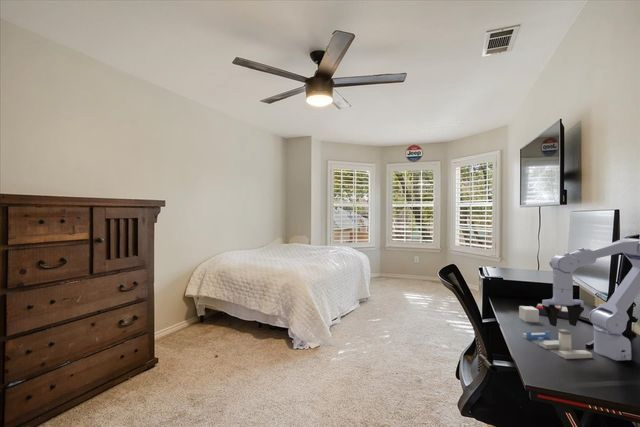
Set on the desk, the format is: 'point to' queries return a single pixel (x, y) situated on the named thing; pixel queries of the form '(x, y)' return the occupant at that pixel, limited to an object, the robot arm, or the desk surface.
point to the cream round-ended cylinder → (564, 340)
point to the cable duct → (555, 345)
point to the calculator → (562, 312)
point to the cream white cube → (528, 314)
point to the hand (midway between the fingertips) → (562, 325)
